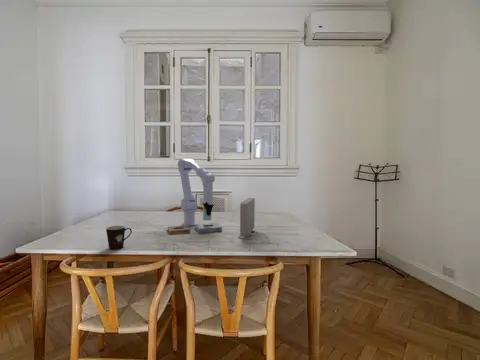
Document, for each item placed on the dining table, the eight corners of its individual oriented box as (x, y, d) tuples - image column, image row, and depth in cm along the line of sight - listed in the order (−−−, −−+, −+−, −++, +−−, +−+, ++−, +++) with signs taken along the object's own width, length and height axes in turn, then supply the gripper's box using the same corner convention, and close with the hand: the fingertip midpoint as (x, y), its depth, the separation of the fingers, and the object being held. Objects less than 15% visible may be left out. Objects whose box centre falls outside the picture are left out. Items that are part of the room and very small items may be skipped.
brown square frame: (167, 229, 185) (167, 226, 185) (187, 228, 189) (187, 225, 189) (169, 234, 174) (169, 230, 174) (189, 232, 177) (189, 229, 177)
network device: (251, 240, 160) (251, 203, 159) (235, 239, 162) (235, 202, 160) (258, 230, 185) (258, 197, 184) (244, 229, 187) (244, 197, 185)
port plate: (195, 228, 191) (195, 224, 191) (216, 226, 195) (216, 222, 195) (198, 232, 177) (198, 228, 177) (221, 231, 182) (221, 227, 181)
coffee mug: (106, 251, 140) (105, 230, 140) (106, 246, 148) (106, 226, 148) (132, 248, 145) (132, 228, 144) (131, 244, 153) (131, 224, 152)
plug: (203, 219, 186) (203, 208, 186) (210, 219, 188) (210, 208, 187) (204, 220, 183) (203, 209, 183) (211, 220, 185) (211, 208, 184)
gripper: (199, 192, 191) (199, 213, 191) (203, 194, 177) (203, 217, 178) (210, 191, 193) (210, 212, 193) (215, 194, 179) (215, 216, 180)
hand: (208, 214), depth 186 cm, fingers closed on plug, 3 cm apart
